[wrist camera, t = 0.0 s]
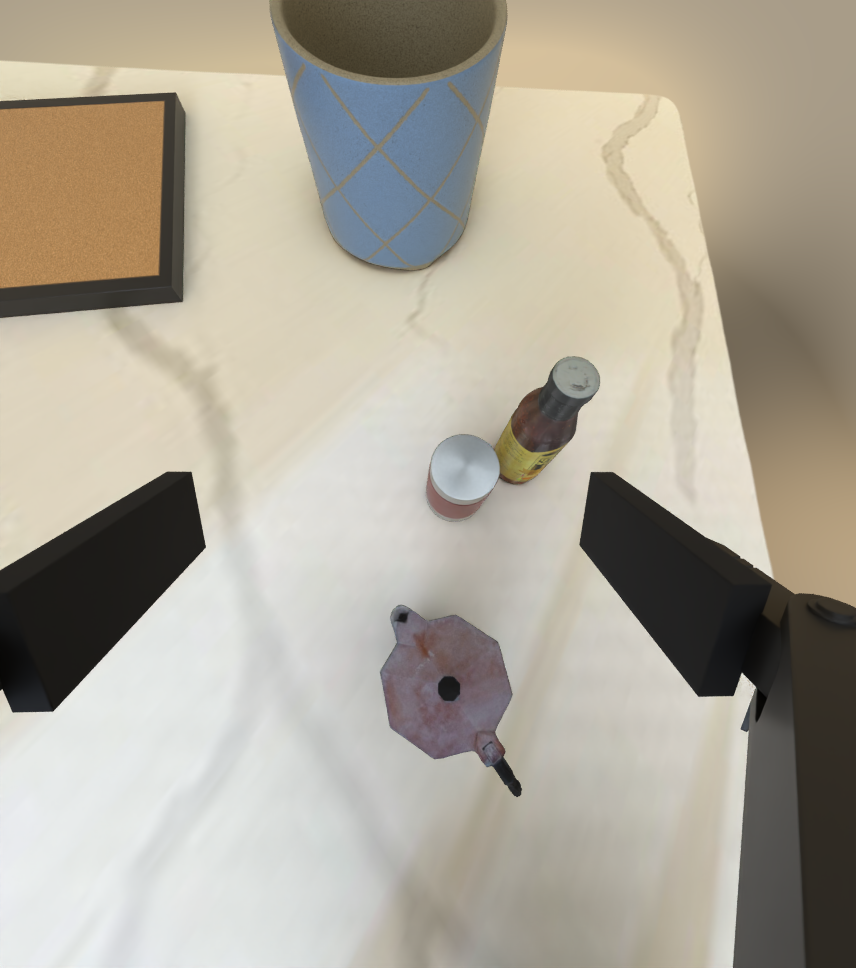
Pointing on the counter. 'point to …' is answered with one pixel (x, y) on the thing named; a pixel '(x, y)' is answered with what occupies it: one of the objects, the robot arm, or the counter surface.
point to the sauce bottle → (545, 420)
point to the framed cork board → (91, 203)
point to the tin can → (461, 476)
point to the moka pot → (447, 689)
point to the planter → (392, 115)
